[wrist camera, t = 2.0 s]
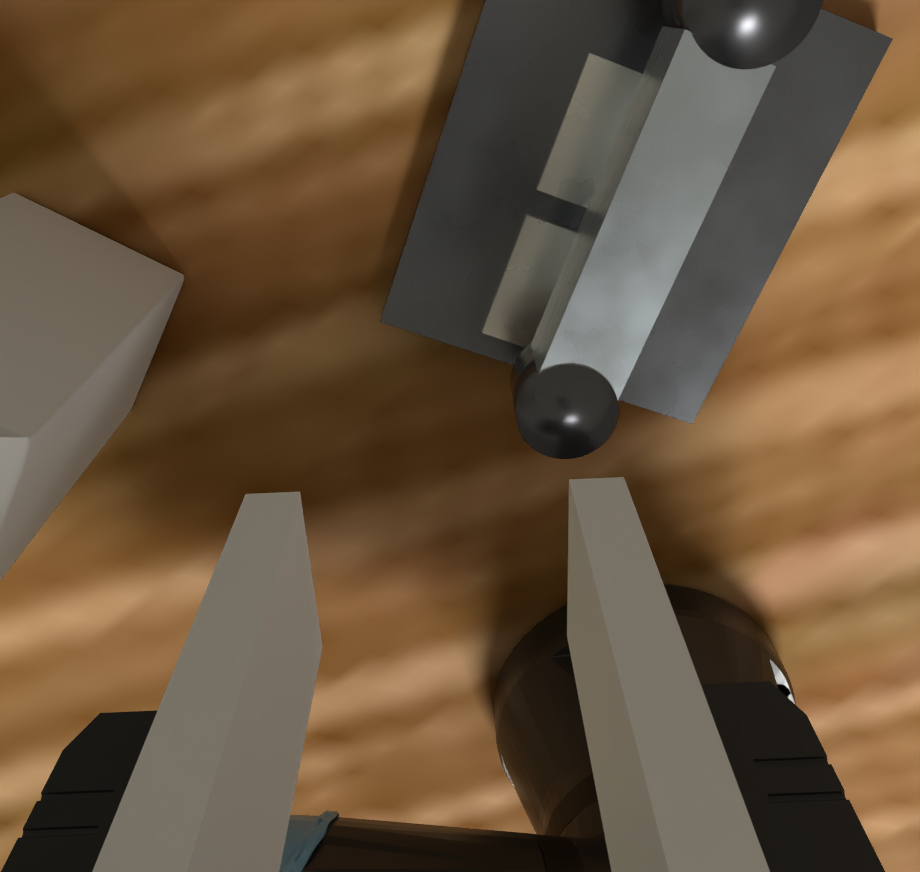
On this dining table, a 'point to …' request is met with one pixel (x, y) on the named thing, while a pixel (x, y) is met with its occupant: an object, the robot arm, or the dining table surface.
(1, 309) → the milk carton
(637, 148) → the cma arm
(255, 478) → the dining table surface
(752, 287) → the plate
